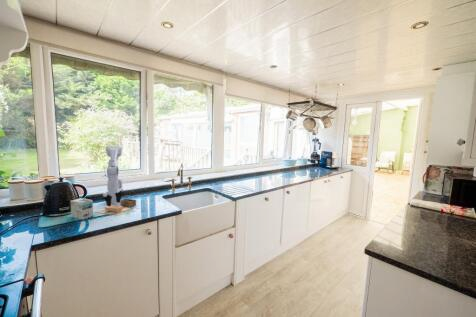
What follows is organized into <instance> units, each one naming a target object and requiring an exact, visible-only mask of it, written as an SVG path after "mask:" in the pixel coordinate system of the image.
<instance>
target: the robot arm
mask: <svg viewBox="0 0 476 317" xmlns="http://www.w3.org/2000/svg"><path fill="white" fill-rule="evenodd" d="M122 149H123V148H122V145H106V147H105V153H106V156H107V157H109V158H110V159H108V163H107V164H108V165H107V167H106V175H107V184H106V186H107V187H106V188H107V191H106V192H103V193H102V198H103V199H104V200H105V202H104V203H105V204H106V207H107V206H111V205H112V204H114V205H116V204H120V201H121V200H122V196H123V195H124V188H123V180H122V178H119V174H120V173H119V172H120V171H119V170H120V169H119V168H120V167H119V157H121V156H122V153H123V152H122V151H123V150H122Z"/></svg>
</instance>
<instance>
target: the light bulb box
mask: <svg viewBox="0 0 476 317" xmlns="http://www.w3.org/2000/svg"><path fill="white" fill-rule="evenodd" d="M93 204H94V202H93V199H88V198H84V197H83V198H82V197H80V198H76V199H72V200H70V217H71V218H73V217H74V219H79V220H85V219H89V218H91V216H92V217H94V205H93ZM88 217H89V218H88Z"/></svg>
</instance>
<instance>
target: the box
mask: <svg viewBox="0 0 476 317" xmlns="http://www.w3.org/2000/svg"><path fill="white" fill-rule="evenodd" d="M119 204H120V205H119V206H123V207H128V208H134V207H135V206H137V199H134V198H124V199H121V201H120V203H119Z"/></svg>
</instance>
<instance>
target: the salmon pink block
mask: <svg viewBox="0 0 476 317" xmlns="http://www.w3.org/2000/svg"><path fill="white" fill-rule="evenodd" d="M123 207H124V206H121V205H119V204H117V205H116V204H111V206H107V205H106V206H105V207H104V209H105V210H108V211H112V212H118V211H120V210H122V209H123Z"/></svg>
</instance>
